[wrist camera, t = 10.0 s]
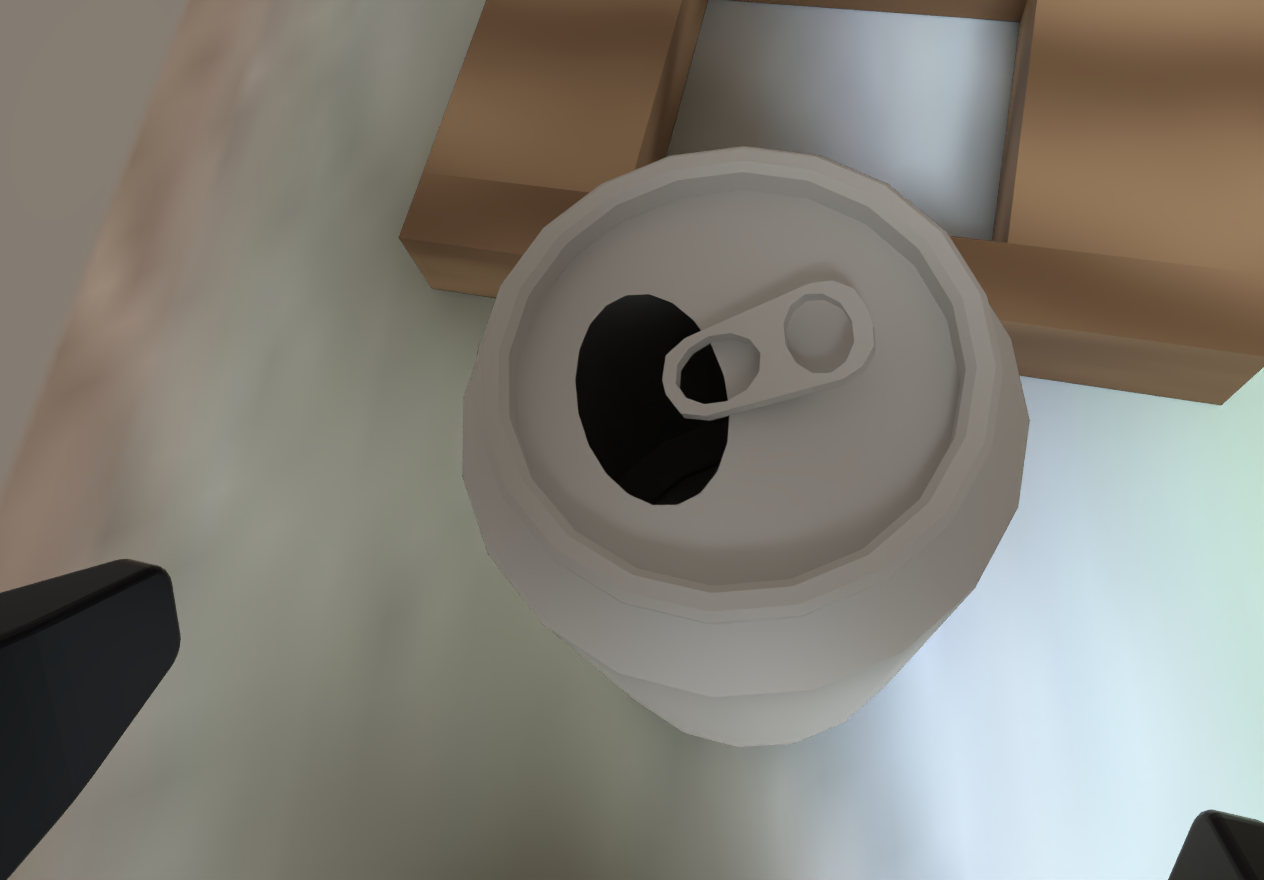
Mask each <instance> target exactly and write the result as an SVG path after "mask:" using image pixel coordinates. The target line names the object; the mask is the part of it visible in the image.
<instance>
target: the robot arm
mask: <svg viewBox="0 0 1264 880" xmlns="http://www.w3.org/2000/svg"><path fill="white" fill-rule="evenodd" d="M180 640H181V638H180V629H179V623H178V617H177V611H176V605H175V599H174V592H173V586H172V581H171V578H170V576H169V574H168V573H167V571H166V570H165V569H163V568H162V567H160V566H157V565H153V564H149V563H144V562H140V561H136V560H130V559H120V560H115V561H112V562H108V563H105V564H101V565H98V566H94V567H90V568H87V569H83V570H80V571H76V572H73V573H69V574H66V575H62V576H58V577H55V578H51V579H48V580H44V581H41V582H37V583H34V584H30V585H27V586H23V587H19V588H16V589H12V590H9V591H5V592H2V593H0V880H7V879H8V878H9V877H10V876H11V874H12V873H13V872H14V871H15V870H16V869H17V867H18V866H19V865H20V864H21V863H22V862H23V860H24V859H25V858H26V857H27V856H28V855H29V854H30V852H31V851H32V850H33V849H34V848H35V847H36V845H37V844H38V843H39V842H40V841H41V840H42V838H43V837H44V836H45V835H46V834H47V833H48V831H49V830H50V829H51V828H52V827H53V826H54V824H55V823H56V822H57V821H58V820H59V819H60V817H61V816H62V815H63V814H64V812H65V811H66V810H67V809H68V808H69V806H70V805H71V804H72V803H73V802H74V800H75V799H76V798H77V796H78V795H79V794H80V792H81V791H82V790H83V788H84V787H85V786H86V784H87V783H88V782H89V780H90V779H91V778H92V776H93V775H94V774H95V772H96V771H97V770H98V768H99V767H100V765H101V764H102V763H103V761H104V760H105V758H106V757H107V756H108V754H109V753H110V751H111V750H112V749H113V747H114V746H115V744H116V743H117V742H118V740H119V739H120V737H121V736H122V735H123V733H124V732H125V730H126V729H127V728H128V726H129V725H130V723H131V722H132V721H133V719H134V718H135V716H136V715H137V714H138V712H139V711H140V710H141V708H142V707H143V705H144V704H145V703H146V701H147V700H148V698H149V697H150V696H151V694H152V693H153V691H154V690H155V689H156V687H157V686H158V684H159V683H160V682H161V680H162V679H163V677H164V676H165V675H166V673H167V672H168V670H169V669H170V668H171V666H172V665H173V663H174V661H175V659H176V657H177V654H178V651H179V648H180ZM1168 880H1264V823H1263V822H1261V821H1258V820H1255V819H1251V818H1247V817H1242V816H1238V815H1234V814H1229V813H1225V812H1221V811H1216V810H1207V811H1203V812H1201V813H1200V814H1199V815H1198V816H1197V817H1196V819H1195V820H1194V822H1193V823H1192V826H1191V828H1190V830H1189V833H1188V835H1187V837H1186V840H1185V842H1184V844H1183V846H1182V849H1181V851H1180V853H1179V856H1178V858H1177V860H1176V863H1175V865H1174V867H1173V869H1172V872H1171V874H1170V876H1169V879H1168Z"/></svg>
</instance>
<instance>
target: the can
mask: <svg viewBox="0 0 1264 880" xmlns="http://www.w3.org/2000/svg"><path fill="white" fill-rule="evenodd" d="M1029 421H1030V420H1029V416H1028V412H1027V407H1026V403H1025V398H1024V394H1023V390H1022V385H1021V381H1020V377H1019V372H1018V368H1017V363H1016V359H1015V355H1014V350H1013V346H1012V341H1011V338H1010V336H1009V335H1008V333H1007V332H1006V330H1005V329H1004V327H1003V325H1002V324H1001V322H1000V321H999V319H998V317H997V316H996V314H995V313H994V311H993V310H992V308H991V306H990V305H989V303H988V298H987V295H986V293H985V292H984V290H983V289H982V287H981V286H980V284H979V282H978V281H977V279H976V278H975V276H974V274H973V273H972V271H971V270H970V268H969V267H968V265H967V263H966V262H965V260H964V259H963V257H962V256H961V254H960V252H959V251H958V249H957V248H956V246H955V244H954V243H953V241H952V240H951V238H950V237H949V235H948V233H947V232H946V231H945V230H944V229H942V228H941V227H940V226H939V225H937V224H936V223H935V222H934V221H933V220H931V219H930V218H929V217H928V216H926V215H925V214H924V213H923V212H922V211H920V210H919V209H918V208H917V207H915V206H914V205H913V204H912V203H911V202H909V201H908V200H907V199H906V198H905V197H903V196H902V195H901V194H900V193H898V192H897V191H896V190H895V189H894V188H892V187H891V186H890V185H889V184H886V183H884V182H882V181H879V180H877V179H874V178H872V177H870V176H867V175H865V174H862V173H860V172H858V171H855V170H853V169H851V168H848V167H846V166H843V165H841V164H839V163H836V162H834V161H831V160H829V159H827V158H824V157H822V156H819V155H812V154H805V153H797V152H789V151H781V150H773V149H765V148H757V147H749V146H739V147H732V148H724V149H717V150H709V151H701V152H694V153H686V154H679V155H671V156H668V157H665V158H663V159H661V160H658V161H656V162H653V163H651V164H648V165H646V166H643V167H641V168H639V169H636V170H634V171H631V172H629V173H626V174H624V175H621V176H619V177H616V178H614V179H612V180H609V181H607V182H604V183H602V184H600V185H599V186H598V187H596V188H595V189H594V190H592V191H591V192H590V193H588V194H587V195H586V196H585V197H583V198H582V199H581V200H579V201H578V202H577V203H575V204H574V205H573V206H571V207H570V208H569V209H568V210H566V211H565V212H564V213H562V214H561V215H560V216H558V217H557V218H556V219H554V220H553V221H552V222H550V223H549V224H548V225H547V226H545V227H544V228H543V229H542V230H541V232H540V233H539V235H538V236H537V237H536V239H535V240H534V241H533V243H532V244H531V245H530V247H529V248H528V249H527V251H526V252H525V253H524V255H523V256H522V257H521V259H520V260H519V261H518V263H517V264H516V265H515V267H514V268H513V270H512V271H511V272H510V274H509V275H508V276H507V278H506V279H505V280H504V282H503V283H502V284H501V286H500V289H499V292H498V294H497V297H496V300H495V303H494V306H493V309H492V312H491V315H490V317H489V320H488V323H487V326H486V329H485V332H484V335H483V338H482V340H481V343H480V346H479V349H478V352H477V360H476V363H475V366H474V369H473V372H472V375H471V378H470V380H469V383H468V386H467V389H466V392H465V395H464V403H463V480H464V483H465V486H466V489H467V492H468V495H469V498H470V501H471V504H472V507H473V510H474V513H475V516H476V519H477V522H478V525H479V528H480V531H481V534H482V537H483V540H484V543H485V546H486V549H487V552H488V555H489V556H490V557H491V558H492V560H493V561H494V562H495V564H496V565H497V566H498V567H499V569H500V570H501V571H502V573H503V574H504V575H505V577H506V578H507V579H508V580H509V582H510V583H511V584H512V586H513V587H514V588H515V589H516V591H517V592H518V593H519V595H520V596H521V597H522V598H523V600H524V601H525V602H526V604H527V605H528V606H529V607H530V609H531V610H532V611H533V613H534V614H535V615H536V616H537V618H538V619H539V620H540V622H541V623H542V624H543V625H545V626H546V627H547V628H548V629H549V630H551V631H552V632H553V633H554V634H555V635H557V636H558V637H559V638H560V639H562V640H563V641H564V642H565V643H566V644H568V645H569V646H570V647H571V648H572V649H574V650H575V651H576V652H577V653H578V654H580V655H581V656H582V657H583V658H585V659H586V660H587V661H588V662H589V663H591V664H592V665H593V666H594V667H595V668H597V669H598V670H599V671H600V672H602V673H603V674H604V675H605V676H606V677H608V678H609V679H610V680H611V681H612V682H614V683H615V684H616V685H617V686H619V687H620V688H621V689H622V690H623V691H625V692H626V693H627V694H628V695H629V696H631V697H632V698H633V699H634V700H635V701H637V702H638V703H639V704H641V705H642V706H644V707H645V708H647V709H649V710H650V711H652V712H653V713H655V714H656V715H658V716H659V717H661V718H662V719H664V720H665V721H667V722H668V723H670V724H671V725H673V726H674V727H676V728H677V729H679V730H680V731H682V732H683V733H687V734H690V735H694V736H698V737H702V738H705V739H709V740H713V741H717V742H720V743H724V744H728V745H732V746H735V747H748V746H764V745H779V744H794V743H796V742H799V741H801V740H804V739H806V738H808V737H811V736H813V735H815V734H818V733H820V732H823V731H825V730H827V729H830V728H832V727H835V726H837V725H839V724H842V723H844V722H846V721H847V720H848V719H849V718H850V717H852V716H853V715H854V714H855V713H856V712H857V711H858V710H859V709H860V708H862V707H863V706H864V705H865V704H866V703H867V702H868V701H869V700H870V699H872V698H873V697H874V696H875V695H876V694H877V693H878V692H879V691H880V690H882V689H883V688H884V687H885V686H886V685H887V684H888V683H889V682H890V681H891V680H892V679H893V677H894V676H895V675H896V674H897V673H898V672H899V671H900V670H901V669H902V668H903V666H904V665H905V664H906V663H907V662H908V661H909V660H910V659H911V658H912V657H913V655H914V654H915V653H916V652H917V651H918V650H919V649H920V648H921V647H922V646H923V644H924V643H925V642H926V641H927V640H928V639H929V638H930V637H931V636H932V635H933V633H934V632H935V631H936V630H937V629H938V628H939V627H940V626H941V625H942V624H943V622H944V621H945V620H946V619H947V618H948V617H949V616H950V615H951V614H952V613H953V612H954V610H955V609H956V608H957V607H958V606H959V605H960V604H961V603H962V602H963V601H964V599H965V598H966V597H967V596H968V595H969V594H970V593H971V592H972V591H973V590H974V588H975V587H976V585H977V583H978V581H979V579H980V578H981V576H982V574H983V572H984V570H985V568H986V566H987V564H988V563H989V561H990V559H991V557H992V555H993V553H994V551H995V549H996V548H997V546H998V544H999V542H1000V540H1001V538H1002V536H1003V534H1004V533H1005V531H1006V529H1007V527H1008V525H1009V523H1010V521H1011V520H1012V518H1013V516H1014V514H1015V512H1016V510H1017V508H1018V504H1019V496H1020V489H1021V481H1022V474H1023V466H1024V459H1025V451H1026V444H1027V436H1028V429H1029Z"/></svg>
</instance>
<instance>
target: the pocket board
mask: <svg viewBox="0 0 1264 880" xmlns="http://www.w3.org/2000/svg"><path fill="white" fill-rule="evenodd" d="M707 1H708V0H486V3H485V5H484V8H483V11H482V13H481V16H480V19H479V22H478V24H477V27H476V30H475V32H474V35H473V38H472V41H471V43H470V46H469V49H468V51H467V54H466V57H465V59H464V62H463V65H462V68H461V70H460V73H459V76H458V78H457V81H456V84H455V87H454V89H453V92H452V95H451V97H450V100H449V103H448V106H447V108H446V111H445V114H444V116H443V119H442V122H441V125H440V127H439V130H438V133H437V135H436V138H435V141H434V144H433V146H432V149H431V152H430V154H429V157H428V160H427V163H426V165H425V168H424V171H423V173H422V176H421V179H420V182H419V184H418V187H417V190H416V192H415V195H414V198H413V201H412V203H411V206H410V209H409V211H408V214H407V217H406V220H405V222H404V225H403V228H402V230H401V233H400V236H399V239H400V240H401V242H402V243H403V245H404V246H405V248H406V249H407V251H408V253H409V254H410V256H411V257H412V259H413V260H414V262H415V263H416V265H417V266H418V268H419V270H420V271H421V273H422V274H423V276H424V277H425V279H426V280H427V282H428V283H429V285H430V286H431V288H434V289H441V290H448V291H454V292H461V293H468V294H474V295H481V296H488V297H495V298H496V297H497V294H498V292H499V289H500V286H501V284H502V283H503V282H504V280H505V279H506V278H507V276H508V275H509V274H510V272H511V271H512V270H513V268H514V267H515V265H516V264H517V263H518V261H519V260H520V259H521V257H522V256H523V255H524V253H525V252H526V251H527V249H528V248H529V247H530V245H531V244H532V243H533V241H534V240H535V239H536V237H537V236H538V235H539V233H540V232H541V230H542V229H543V228H544V227H545V226H547V225H548V224H549V223H550V222H552V221H553V220H554V219H556V218H557V217H558V216H560V215H561V214H562V213H564V212H565V211H566V210H568V209H569V208H570V207H571V206H573V205H574V204H575V203H577V202H578V201H579V200H581V199H582V198H583V197H585V196H586V195H587V194H588V193H590V192H591V191H592V190H594V189H595V188H596V187H598V186H599V185H600V184H602V183H604V182H607V181H609V180H612V179H614V178H616V177H619V176H621V175H624V174H626V173H629V172H631V171H634V170H636V169H639V168H641V167H643V166H646V165H648V164H651V163H653V162H656V161H658V160H661V159H663V158H665V157H666V153H667V150H668V146H669V142H670V138H671V135H672V131H673V127H674V124H675V120H676V116H677V112H678V109H679V105H680V101H681V98H682V94H683V90H684V86H685V83H686V79H687V75H688V72H689V68H690V64H691V60H692V57H693V53H694V49H695V46H696V42H697V38H698V34H699V31H700V27H701V23H702V20H703V16H704V12H705V8H706V5H707ZM733 1H747V2H760V3H774V4H787V5H801V6H814V7H828V8H841V9H855V10H868V11H882V12H895V13H909V14H922V15H936V16H949V17H962V18H976V19H989V20H1003V21H1016V22H1020V27H1019V34H1018V42H1017V50H1016V58H1015V66H1014V74H1013V81H1012V89H1011V97H1010V105H1009V113H1008V121H1007V128H1006V136H1005V144H1004V152H1003V160H1002V168H1001V175H1000V183H999V191H998V199H997V207H996V214H995V222H994V230H993V238H992V241H987V240H978V239H970V238H962V237H954V236H949V237H950V238H951V240H952V241H953V243H954V244H955V246H956V248H957V249H958V251H959V252H960V254H961V256H962V257H963V259H964V260H965V262H966V263H967V265H968V267H969V268H970V270H971V271H972V273H973V274H974V276H975V278H976V279H977V281H978V282H979V284H980V286H981V287H982V289H983V290H984V292H985V293H986V295H987V298H988V303H989V305H990V306H991V308H992V310H993V311H994V313H995V314H996V316H997V317H998V319H999V321H1000V322H1001V324H1002V325H1003V327H1004V329H1005V330H1006V332H1007V333H1008V335H1009V336H1010V338H1011V341H1012V346H1013V350H1014V355H1015V359H1016V363H1017V368H1018V372H1019V375H1020V376H1027V377H1034V378H1040V379H1047V380H1054V381H1061V382H1067V383H1074V384H1081V385H1088V386H1094V387H1101V388H1108V389H1115V390H1121V391H1128V392H1135V393H1142V394H1148V395H1155V396H1162V397H1169V398H1175V399H1182V400H1189V401H1195V402H1202V403H1209V404H1216V405H1222V404H1223V403H1224V402H1225V401H1227V400H1228V399H1229V398H1230V397H1231V396H1232V395H1233V394H1234V393H1235V392H1236V391H1238V390H1239V389H1240V388H1241V387H1242V386H1243V385H1244V384H1245V383H1246V382H1247V381H1249V380H1250V379H1251V378H1252V377H1253V376H1254V375H1255V374H1256V373H1257V372H1259V371H1260V370H1261V369H1262V368H1263V367H1264V0H733Z"/></svg>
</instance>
